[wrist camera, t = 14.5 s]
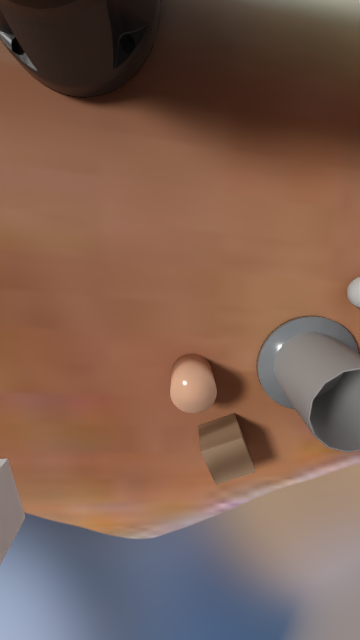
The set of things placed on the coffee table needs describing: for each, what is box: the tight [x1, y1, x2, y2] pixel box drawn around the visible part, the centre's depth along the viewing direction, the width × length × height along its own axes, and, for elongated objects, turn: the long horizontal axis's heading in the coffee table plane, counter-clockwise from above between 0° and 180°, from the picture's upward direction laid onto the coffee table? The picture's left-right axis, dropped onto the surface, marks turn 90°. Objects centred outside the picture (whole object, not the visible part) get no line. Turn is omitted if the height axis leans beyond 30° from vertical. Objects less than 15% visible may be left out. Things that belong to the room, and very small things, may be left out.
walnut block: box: [198, 413, 256, 485], centre depth 37 cm, size 5×5×5 cm
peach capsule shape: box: [170, 354, 217, 413], centre depth 34 cm, size 5×5×5 cm
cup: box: [273, 331, 360, 452], centre depth 31 cm, size 8×8×10 cm
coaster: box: [257, 316, 359, 409], centre depth 36 cm, size 12×12×1 cm
